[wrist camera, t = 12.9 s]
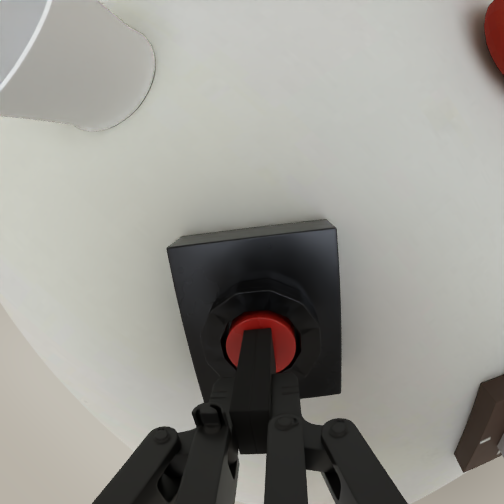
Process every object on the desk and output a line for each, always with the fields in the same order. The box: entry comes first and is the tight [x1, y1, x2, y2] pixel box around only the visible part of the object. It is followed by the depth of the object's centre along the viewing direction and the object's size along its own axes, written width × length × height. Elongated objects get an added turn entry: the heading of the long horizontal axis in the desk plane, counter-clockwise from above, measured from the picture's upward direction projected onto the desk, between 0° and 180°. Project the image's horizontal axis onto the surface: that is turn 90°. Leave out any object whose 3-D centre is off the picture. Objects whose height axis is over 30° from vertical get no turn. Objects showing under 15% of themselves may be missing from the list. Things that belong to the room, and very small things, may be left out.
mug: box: [0, 0, 155, 131], centre depth 13 cm, size 12×8×12 cm
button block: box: [167, 219, 341, 403], centre depth 20 cm, size 12×10×5 cm
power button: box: [226, 310, 296, 373], centre depth 18 cm, size 4×4×2 cm
